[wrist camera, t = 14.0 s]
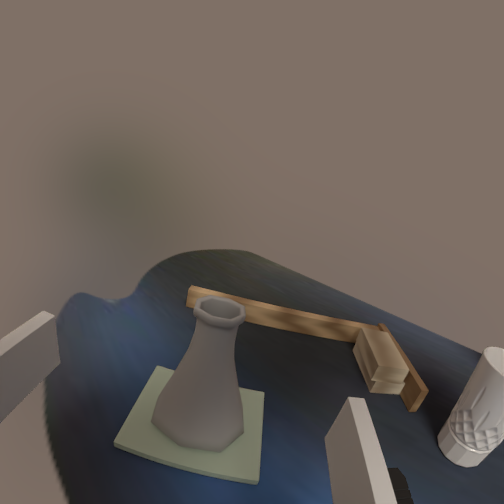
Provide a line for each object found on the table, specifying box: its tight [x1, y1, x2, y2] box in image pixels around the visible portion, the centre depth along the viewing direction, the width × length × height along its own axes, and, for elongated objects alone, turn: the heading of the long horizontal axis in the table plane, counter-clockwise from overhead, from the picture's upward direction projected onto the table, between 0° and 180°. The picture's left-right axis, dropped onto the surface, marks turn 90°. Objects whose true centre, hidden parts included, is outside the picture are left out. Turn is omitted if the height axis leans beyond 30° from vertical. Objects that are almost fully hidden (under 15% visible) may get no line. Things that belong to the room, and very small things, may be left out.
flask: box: [151, 295, 246, 452], centre depth 19 cm, size 7×7×10 cm
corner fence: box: [186, 286, 429, 412], centre depth 33 cm, size 28×16×3 cm, turn 86°
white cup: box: [437, 346, 504, 467], centre depth 18 cm, size 8×8×10 cm
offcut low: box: [352, 341, 405, 394], centre depth 32 cm, size 4×9×2 cm, turn 177°
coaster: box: [114, 365, 264, 485], centre depth 20 cm, size 10×10×1 cm
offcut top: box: [356, 327, 409, 384], centre depth 32 cm, size 4×9×2 cm, turn 174°
